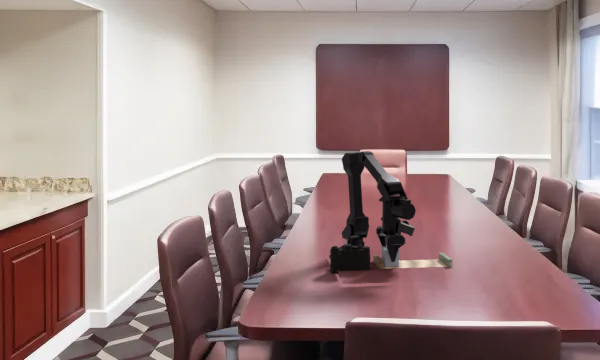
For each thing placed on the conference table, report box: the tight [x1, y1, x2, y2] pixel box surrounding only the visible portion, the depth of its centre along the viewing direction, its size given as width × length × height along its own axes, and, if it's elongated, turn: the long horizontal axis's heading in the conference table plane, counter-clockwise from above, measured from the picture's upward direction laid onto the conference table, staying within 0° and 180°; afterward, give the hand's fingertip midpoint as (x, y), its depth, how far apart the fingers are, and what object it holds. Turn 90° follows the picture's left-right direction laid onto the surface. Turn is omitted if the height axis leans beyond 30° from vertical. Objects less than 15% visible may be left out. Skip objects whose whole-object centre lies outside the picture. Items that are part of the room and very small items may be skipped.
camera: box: [329, 243, 371, 275], centre depth 195 cm, size 14×11×10 cm
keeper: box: [380, 246, 400, 267], centre depth 198 cm, size 5×6×7 cm
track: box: [372, 252, 453, 270], centre depth 199 cm, size 26×10×4 cm, turn 95°
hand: (389, 258), depth 198 cm, fingers open, 9 cm apart
